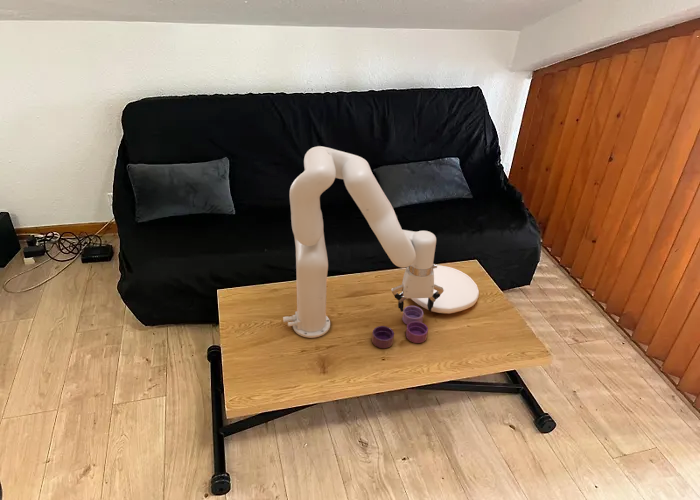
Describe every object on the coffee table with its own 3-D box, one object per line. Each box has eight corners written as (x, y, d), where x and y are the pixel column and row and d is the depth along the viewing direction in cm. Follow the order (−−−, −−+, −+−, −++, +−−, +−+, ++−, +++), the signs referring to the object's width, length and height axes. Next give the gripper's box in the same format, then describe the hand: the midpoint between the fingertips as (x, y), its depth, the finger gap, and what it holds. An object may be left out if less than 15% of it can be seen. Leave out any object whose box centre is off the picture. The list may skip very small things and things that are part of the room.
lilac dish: (406, 328, 167) (407, 319, 165) (399, 315, 172) (400, 306, 170) (425, 325, 168) (426, 317, 166) (418, 313, 174) (419, 304, 172)
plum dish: (409, 345, 160) (411, 336, 158) (402, 331, 165) (404, 322, 163) (429, 342, 161) (431, 333, 159) (422, 328, 167) (423, 320, 165)
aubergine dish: (375, 350, 157) (376, 341, 155) (369, 336, 163) (370, 327, 161) (395, 347, 159) (396, 339, 157) (389, 333, 164) (390, 324, 162)
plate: (429, 254, 197) (492, 281, 184) (426, 268, 200) (487, 295, 187) (392, 280, 176) (459, 311, 163) (389, 295, 179) (455, 327, 166)
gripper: (444, 260, 162) (437, 301, 171) (392, 261, 161) (388, 302, 170) (449, 274, 156) (442, 315, 165) (395, 274, 154) (391, 316, 164)
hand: (415, 308), depth 167 cm, fingers open, 9 cm apart
